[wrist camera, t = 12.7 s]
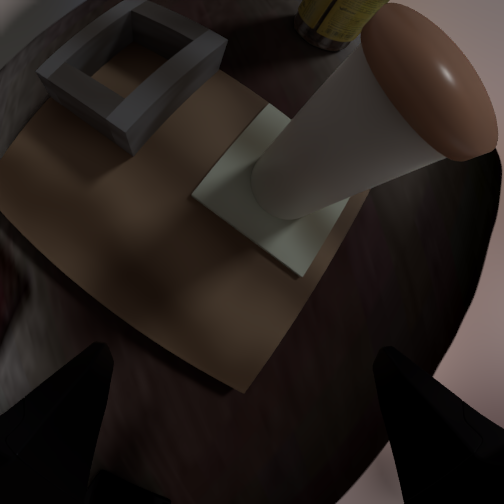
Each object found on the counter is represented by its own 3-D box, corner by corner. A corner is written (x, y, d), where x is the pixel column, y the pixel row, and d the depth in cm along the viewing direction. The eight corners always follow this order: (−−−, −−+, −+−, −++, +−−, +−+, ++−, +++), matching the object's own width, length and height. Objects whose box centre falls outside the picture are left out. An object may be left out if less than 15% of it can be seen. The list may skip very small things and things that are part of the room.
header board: (238, 384, 19) (259, 418, 14) (-8, 194, 14) (-45, 177, 9) (359, 193, 22) (401, 177, 17) (135, 34, 17) (133, -7, 12)
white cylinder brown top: (274, 240, 17) (468, 178, 5) (230, 166, 17) (343, -4, 4) (335, 201, 19) (508, 130, 6) (295, 135, 18) (429, 10, 6)
